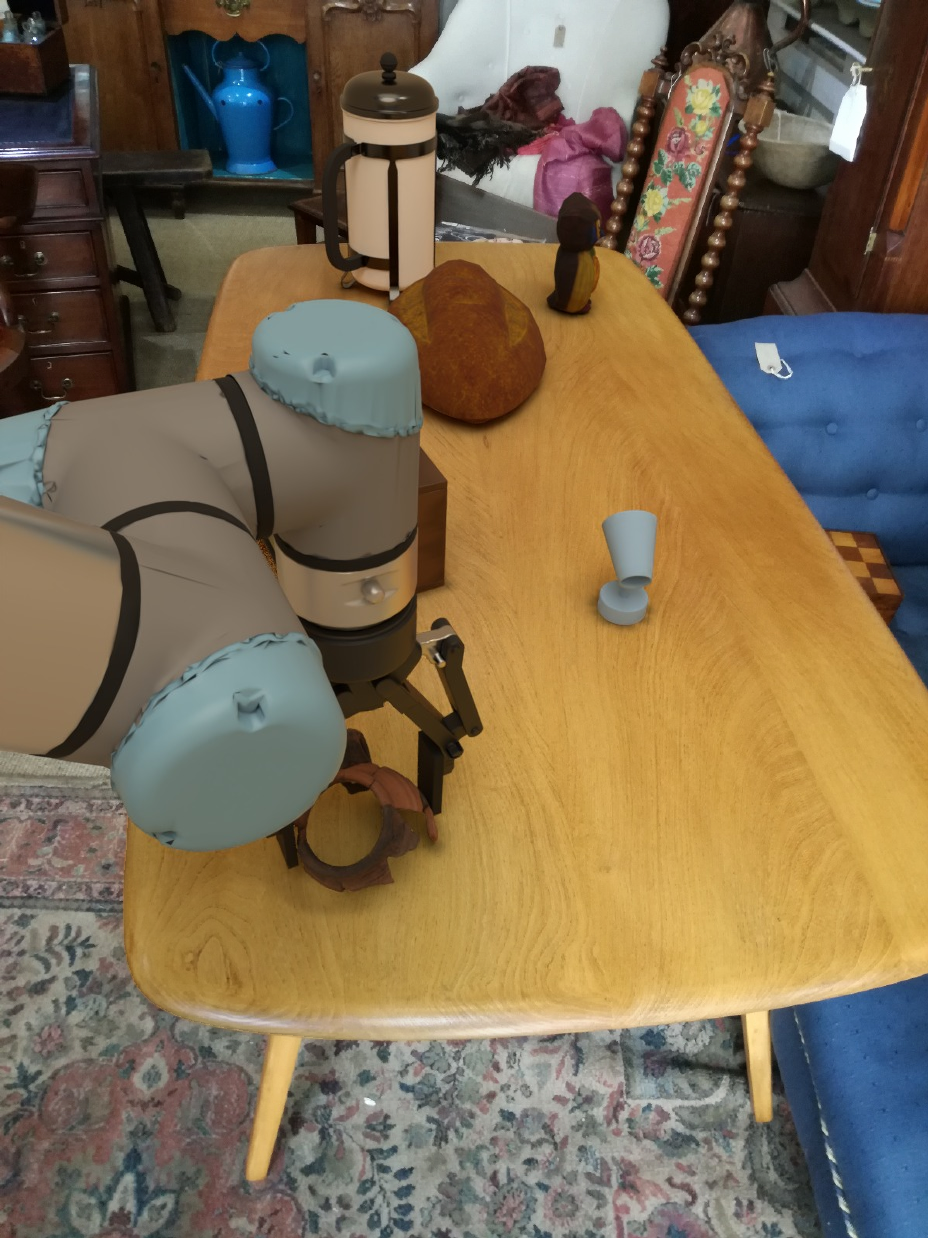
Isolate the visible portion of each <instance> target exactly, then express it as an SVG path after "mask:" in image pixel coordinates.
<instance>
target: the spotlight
mask: <svg viewBox="0 0 928 1238" xmlns="http://www.w3.org/2000/svg"><path fill="white" fill-rule="evenodd" d="M601 529H602V532H603V535H604V538H605V543H606V547H607V549H608V552H609V556H610V560H611V563H612V566H613V569H614V573H615V576H616V579H615V580H610V581H608V582H606V583H604V584H603V585H602V586H601V588H600V590H599V595H598V599H597V605H596V606H597V607H596V608H597V611H598V613H599V615H600V616H601V617H602V618H603V619H604V620H606V621H608V623H609V622H610V623H612V624H615V625H620V626H632V625H635V624H639V623H640V622H641V621H642V620H644V618H645V616H646V612H647V609H648V604H649V594H648V592H647V591H646V590H645V587H648V586H650V585H651V584H652V582H653V575H654V562H655V555H656V554H655V552H656V542H657V541H656V540H657V531H658V517H657V515H655V514H654V513H652V512H649V511H646V510H640V509H630V510H624V511H623V510H622V511H619V512H615V513H613V514H611V515H609V516H607V517H606V518H605V519H604V520H603V521H602V523H601Z"/></svg>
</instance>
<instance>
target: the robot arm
mask: <svg viewBox="0 0 928 1238" xmlns="http://www.w3.org/2000/svg"><path fill="white" fill-rule="evenodd" d="M248 359H249V360H248V369H245V370H240V371H236V372H231V373H226V374H225V375H224V376H222V377H215V378H212V379H210V378H208V379H203V380H202V379H201V380H197V381H196V380H195V381H191V382H185V383H179V384H173V385H169V386H168V385H167V386H161V387H155V388H148V389H143V390H136V391H131V392H130V391H129V392H125V393H118V394H114V395H113V394H112V395H106V396H100V397H95V398H88V399H83V400H76V401H68V400H63V401H57V402H55V404H52V405H51V406H49V407H46V408H41V409H38V410H34V411H33V410H32V411H29V412H25V413H21V414H17V415H13V416H9V417H5V418H2V419H0V752H7V753H15V754H16V753H17V754H23V755H29V756H33V757H38V758H47V759H53V760H56V761H57V760H58V761H63V762H69V763H76V764H82V765H89V766H95V767H96V766H97V767H103V768H106V769H108V770H109V779H110V781H109V782H110V783H109V784H110V788H111V790H112V791H113V792H116V794H117V798H118V799H119V800H120V801H121V802H122V804H123V807H124V809H125V812H126V815H127V816H128V818H129V820H130V821H131V823H132V824H133V825H134V826H135V827H136V828H137V829H138V830H140V831H142V833H144V834H146V835H147V836H149V837H151V838H152V839H155V840H157V841H158V842H159V844H161V845H162V846H164V847H167V848H169V849H172V850H177V851H182V852H192V853H208V852H217V851H218V852H219V851H224V850H229V849H233V848H238V847H241V846H246V845H248V844H251V843H255V842H257V841H260V840H263V839H264V838H266V839H270V838H273V837H276V841H277V844H278V846H279V849H280V852H281V855H282V857H283V859H284V862H285V864H286V867H287V870H291V869H293V868H296V867H298V866H300V862H299V855H298V853H297V838H296V831H295V826H294V823H293V821H294V820H296V819H297V818H299V817H300V816H301V815H302V814H303V813H304V812H306V811H307V810H308V809H309V808H310V807H312V806H314V805H315V804H316V802H317V801H318V799H319V798H320V797H319V795H320V794H321V792H322V791H324V790H325V789H327V787H328V785H329V783H331V782H332V781H333V780H334V778H335V776H336V775H337V773H338V771H339V769H340V766H341V764H342V761H343V758H344V754H345V750H346V744H347V729H348V728H347V723H346V720H348V719H350V718H351V717H353V716H356V715H357V714H359V713H363V712H371V711H375V710H379V709H382V708H384V706H385V703H388V704H390V705H391V706H392V707H393V708H394V709H395V710H396V711H398V713H400V714H401V715H405V716H406V717H407V718H408V719H409V720H410V721H411V722H412V723H413V724H414V725H415V726H416V727H417V728H419V729H420V730H418V731H417V769H416V770H417V772H416V773H417V774H416V787H417V788H418V789H419V790H420V791H421V793H422V794H423V795H424V796H425V798H426V800H427V801H428V803H429V805H430V808H431V810H432V812H433V816H434V817H435V816H438V815H440V814H442V811H443V792H444V776H447V775H449V774H452V772H453V771H454V770H455V761H456V760H457V759H459V758H460V757H461V756H462V755H463V754H464V752H465V749H464V748H463V745H462V744H461V743H460V740H461V739H462V738H465V737H466V736H468V738H475V737H478V736H479V735H481V734H482V732H483V731H484V725H483V723H482V720H481V717H480V714H479V712H478V708H477V705H476V702H475V700H474V697H473V694H472V692H471V688H470V686H469V683H468V680H467V677H466V674H465V672H464V669H463V662H464V655H465V649H466V647H465V643H464V642H463V640H462V639H461V637H460V636H459V635H458V633H457V631H456V630H455V629H454V627H453V625H452V624H451V623H450V621H449V620H448V619H447V618H446V617H438V618H437V619H435V620H434V621H432V623H431V625H430V629H429V630H428V631H427V630H426V631H424V632H419V633H417V625H418V593H416V585H417V560H418V514H417V513H418V478H419V451H420V446H421V430H422V429H423V428H422V427H423V425H424V411H423V407H422V406H423V403H422V402H421V380H420V370H419V362H418V350H417V346H416V342H415V340H414V338H413V336H412V335H411V333H410V331H409V329H408V328H406V327H405V326H404V325H403V324H402V323H401V322H400V321H399V320H398V319H397V318H396V317H395V316H393V315H392V314H390V313H388V312H387V310H385V309H382V308H380V307H377V306H375V305H372V304H369V303H365V302H362V301H361V302H360V301H356V300H349V299H338V298H323V299H320V298H319V299H310V300H304V301H298V302H294V303H292V304H290V305H289V306H287V307H286V308H285V310H283V311H274V312H271V313H270V314H267V315H266V316H265V317H264V318H263V319H261V320H260V321H259V323H258V324H257V325H256V327H255V328H254V332H253V333H252V337H251V354H250V355H249V358H248ZM272 534H273V536H274V545H275V555H276V565H277V567H276V573H277V577H276V575H275V573H274V571H273V569H272V568H271V566H270V564H269V562H268V560H267V558H266V557H265V554H264V553H263V551H262V549H261V547H260V545H259V543H258V541H261V540H262V539H265V538H269V537H270V536H271V535H272ZM276 565H275V566H276ZM423 656H425V658H426V659H427V660H428V662H429V663H430V664H432V665H434V667H435V669H436V672H437V675H438V677H439V680H440V682H441V686H442V687H443V690H444V693H445V695H446V698H447V700H448V703H449V705H450V708H451V710H452V712H450V713H448V714H447V715H445V716H444V714H442V713H441V712H440V711H439V709H438V708H437V707H436V706H434V704H432V703H431V702H430V700H429V699H427V698H426V697H425V696H424V695H423V693H421V691H419V690H418V689H417V688H416V687H415V686H414V684H412V683H411V682H410V681H409V680H408V677H409V676H410V675H411V673H412V672H413V671H414V669H415V668H416V667H417V665H418V664H419V662H420V661H421V660H422V657H423ZM327 790H328V789H327ZM321 795H322V794H321ZM321 795H320V796H321ZM318 797H319V798H318ZM312 808H313V807H312Z"/></svg>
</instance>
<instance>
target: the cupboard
mask: <svg viewBox="0 0 928 1238" xmlns="http://www.w3.org/2000/svg"><path fill="white" fill-rule="evenodd" d="M448 484H449V483H448V479H447V478H446V477H445V475H444V473H442V472H441V470H440V469H439V468H438V466H437V465H436V464H435V462H434V461H433V460H432V459H431V458H430V456H429V455H428V454H427V453H426V452H425V450H424V449H423V447H422V446H421V445H420V451H419V478H418V513H417V514H418V560H417V585H416V593H417V594H420V593H424V592H427V591H431V590H433V589H434V590H435V589H438V588H442V587H444V586H445V576H446V575H445V574H446V548H447V547H446V546H447V545H446V543H447V516H448V515H447V514H448V513H447V512H448ZM261 540H262V542H263V544H264V546H265V548H266V550H267V552H268V553H269V555H270V557H271V560H272V562H273V563H274V565H275V567H276V568H277V565H276V555H275V550H274V548H273V546H272V545H271V543H270V541H269V539H268V538H265V539H261Z"/></svg>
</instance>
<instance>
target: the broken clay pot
mask: <svg viewBox="0 0 928 1238" xmlns="http://www.w3.org/2000/svg"><path fill="white" fill-rule="evenodd" d="M346 729H347V744H346V750H345V754H344V758H343V761H342V764H341V766H340V769H339V771H338V773H337V775H336V776H335V778H334V780H333V781H332V782H331V783H329V785H328V787H327V789H325V790H324V791H322V792H321V794H320V795H319V797H318V799H319V798H320V797H321V796H322V795H323V794H324V793H325V792H326V791H328V790H329V789H330V788H332V787H334V786H335V785H338V784H341V786H342V787H343V788H344V789H345V790H346V791H347V793H348V795H351V796H352V795H356V794H358V793H363V792H365V793H366V792H368V791H370V792H372V794H373V795H374V796H375V798H376V799H377V802H378V804H379V807H380V810H381V816H382V823H381V824H382V825H381V831H380V833H379V836H378V838H377V841H376V843H375V844H374V846H373V848H371V851H370V852H369V853H368V854H366V856H363V858H360V860H358V861H356V862H354V863H352V864H349V865H343V866H342V865H341V866H340V865H332V864H329V863H327V862H325V861H324V860H322V859H320V858H319V857H318V856H317V855H316V853H315V852H314V851H313V849H312V848H311V845H310V844H309V842H308V836H307V827H308V823H309V817H310V815H311V811H312V809H313V806H314V805H313V806H312V807H310V808H309V809H308V810H307V811H306V812H304V813H303V814H302V815H301V816H300V817H299V818H297V819H296V820H294V821H293V823H294V828H297V830H296V831H297V835H296V846H297V854H298V859H299V861H300V862H301V864H302V868H303V870H304V871H305V873H306V874H307V875H308V876H309V877H310V878H311V879H312V880H314V881H315V882H316V883H318V884H319V885H321V886H323V887H325V888H327V889H328V890H332V891H335V892H339V893H344V892H345V891H346V890H347V891H348V892H351V893H353V892H354V893H355V892H359V891H361V890H363V889H367V888H370V887H374V886H380V885H382V886H383V885H384V886H385V885H386V886H387V885H393V884H394V883H395V880H394V879H393V876H392V873H391V870H390V869H391V868H390V866H389V861H388V859H389V858H394V859H395V858H396V859H397V858H400V857H402V856H404V855H406V854H407V853H409V852H410V851H415V850H416V849H417V848H418V845H419V843H420V840H421V836H420V834H419V833H417V832H415V831H414V830H413V829H412V827H411V825H410V824H409V823H408V822H407V821H406V820H405V819H404V818H403V817H402V815H401V814H400V813H399V811H408V812H411V813H415V814H419V813H421V812H422V813H423V814H424V817H425V820H426V827H427V835H428V836H429V837H430V840H431V841H432V842H434V843H435V842H437V841H438V840H439V834H438V826H437V823H436V821H435V820H436V819H435V816H433V812H432V810H431V808H430V805H429V803H428V801H427V800H426V798H425V796H424V795H423V794H422V793H421V791H420V790H419V789H418V788H417V785H415V783H414V782H413V781H412V780H411V779H409V777H407V776H404V774H402V773H400V772H398V771H397V770H396V769H394V768H391V767H389V766H386V765H383V766H380V765H379V764H377V763H374V762H373V759H372V756H371V751H370V748H369V745H368V742H367V739H366V737H365V734H364V733H363V732H362V731H360V730H358V729H356V728H352V727H351V728H350V727H347V728H346Z"/></svg>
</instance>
